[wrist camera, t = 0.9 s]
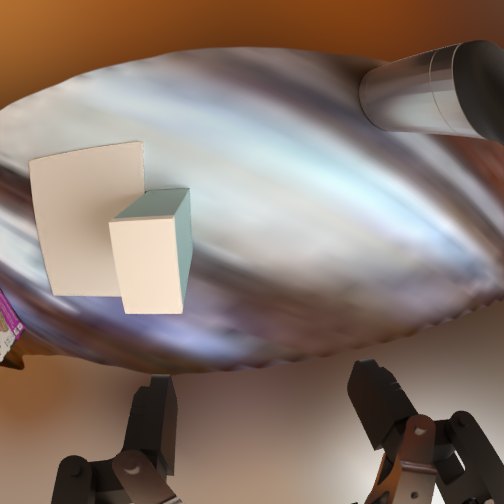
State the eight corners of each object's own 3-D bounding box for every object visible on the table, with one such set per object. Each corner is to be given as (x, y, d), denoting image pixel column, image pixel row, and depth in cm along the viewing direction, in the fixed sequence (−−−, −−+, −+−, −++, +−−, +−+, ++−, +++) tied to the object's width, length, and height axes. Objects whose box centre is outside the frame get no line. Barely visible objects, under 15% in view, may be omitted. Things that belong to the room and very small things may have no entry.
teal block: (189, 188, 33) (172, 218, 20) (192, 251, 36) (181, 313, 23) (148, 190, 32) (108, 222, 19) (154, 252, 35) (125, 313, 22)
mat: (142, 141, 30) (141, 141, 29) (156, 293, 37) (155, 296, 37) (31, 160, 28) (29, 160, 27) (55, 293, 35) (53, 295, 35)
